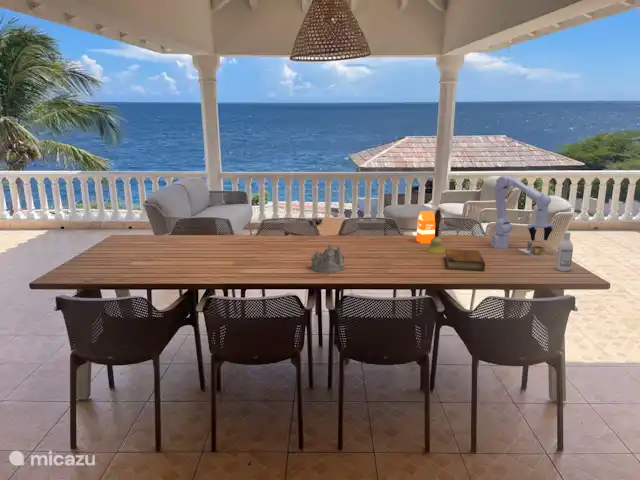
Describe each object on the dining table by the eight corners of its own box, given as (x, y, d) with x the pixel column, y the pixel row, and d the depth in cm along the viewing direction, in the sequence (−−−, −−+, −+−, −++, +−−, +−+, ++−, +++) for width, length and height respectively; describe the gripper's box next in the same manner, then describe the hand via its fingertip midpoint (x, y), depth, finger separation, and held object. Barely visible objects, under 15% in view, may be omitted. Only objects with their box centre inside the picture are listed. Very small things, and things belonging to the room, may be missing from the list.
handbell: (450, 252, 297) (453, 210, 291) (434, 254, 291) (436, 212, 285) (437, 247, 307) (439, 207, 302) (421, 249, 302) (423, 208, 296)
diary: (484, 272, 261) (485, 261, 259) (447, 270, 264) (448, 260, 262) (478, 260, 283) (479, 250, 281) (444, 258, 286) (445, 248, 284)
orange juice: (416, 240, 324) (417, 210, 320) (428, 240, 326) (430, 209, 322) (421, 243, 317) (423, 212, 312) (434, 242, 319) (436, 211, 314)
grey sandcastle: (350, 269, 263) (348, 241, 260) (324, 275, 254) (322, 246, 251) (333, 263, 276) (331, 237, 273) (307, 269, 267) (305, 242, 264)
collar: (535, 255, 286) (536, 248, 285) (530, 252, 291) (531, 246, 290) (544, 255, 286) (545, 248, 286) (539, 252, 292) (540, 246, 291)
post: (528, 252, 297) (529, 242, 296) (526, 251, 299) (527, 241, 298) (531, 252, 297) (533, 242, 296) (529, 251, 300) (530, 241, 298)
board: (532, 258, 285) (533, 256, 284) (518, 250, 301) (518, 248, 301) (549, 257, 286) (549, 255, 285) (533, 250, 302) (534, 248, 302)
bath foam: (573, 270, 262) (578, 233, 257) (562, 271, 260) (566, 234, 255) (563, 267, 268) (567, 230, 263) (552, 268, 266) (557, 231, 261)
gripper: (533, 218, 279) (530, 242, 282) (557, 217, 281) (555, 241, 284) (526, 216, 286) (524, 239, 289) (550, 215, 287) (548, 238, 291)
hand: (539, 240), depth 287 cm, fingers open, 7 cm apart
